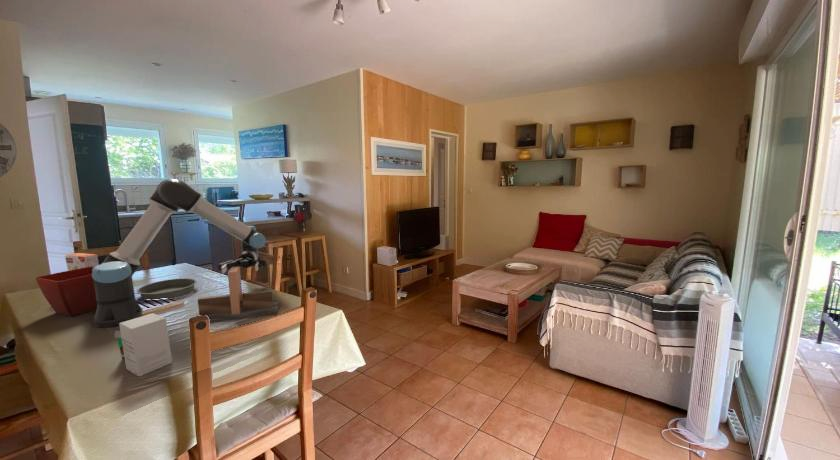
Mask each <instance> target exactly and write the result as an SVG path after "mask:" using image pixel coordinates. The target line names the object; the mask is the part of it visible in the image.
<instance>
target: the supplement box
mask: <svg viewBox="0 0 840 460" xmlns="http://www.w3.org/2000/svg"><path fill="white" fill-rule="evenodd" d="M118 326H119V331H120V332H121V338H122V344H123V350H124V357H125V359H124V362H125V363H124V364H125V369H126V370H128V371H129V372H131V373H132V374H134V375H135V376H137V377H142V376H144V375H146V374H148V373H151V372H154V371H157V370H158V369H161V368H163V367H166V366H168V365H170V364H172V363H173V359H172V350H171V344H170V337H169V332H168V331H169V330H168V323H167V318H166V317H163V316H161V315H158V314H156V313H154V312H153V313H149V314H146V315H143V316H142V317H138V318H135V319H132V320H128V321H125V322H121V323H119V325H118Z"/></svg>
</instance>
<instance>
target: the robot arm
mask: <svg viewBox="0 0 840 460" xmlns="http://www.w3.org/2000/svg"><path fill="white" fill-rule="evenodd" d="M149 202H150V205H148V207H147V208H146V210H145V211H144V213H143V214H142V216H141V217H140V218H139V220H138V221H137V222H136V224H135V225H134V226H133V228H132V229H131V231H130V232H129V233H128V235H127V236H126V238H125V239H123V240H124V241H123V242H122V243H121V244H120V245H119V247H118V248H117V250H115V251H112V252H109V254H108V255H107V256H106V257H105V259H104V260H103V261H102V262H101V263H99V265H97V266H95V267H94V268H93V270H92V278H93V281H94V287H95V294H96V300H97V309H95V313H94V317H93V325H94V327H95V328H109V327H110V328H111V327H112V328H113V327H117V326H119V323H121V322H125V321H128V320H132V319H135V318H138V317H142V316H144V314H142V313H143V309H142V308H141V306H140V304H139V303H138V301H137V300H136V295H135V290H134V289H135V288H134V282H133V276H134V275H135V273H136V271H137V270H138V268H139V267H140V265H141V263H140V259H141V257H142V256H143V254H144V253H145V251H146V250H147V248H148V247H149V245H151V243H152V242H153V240H154V239H155V237H157V234H158V233H159V232H160V230H161V229H162V228H163V226H164V225H165V223H166V221H167V220H168V218H170V216H171V215H172V214H176V213H178V211H180V210H182V211H185V212H186V213H191V212H192V213H193V214H194V215H196V216H198V217H200V218H202V219H203V220H204V221H205V220H206V221H207V222H209V223H210V224H212V225H214V226H215V227H218V228H219V229H221V230H223V231H224V232H225V233H228V234H229V235H230V236H232V237H235V238H236V239H238V240H240V244H241V254H240V255H239V256H238V257H237V259H235V260H233V259H229V260H227V261H224V262H221V263H218V265H217V266H218V270H219V271H221V274H222V275H223V274H225V273H226V272H227V271H228V269H229V270H230V269H231V268H232V267H240V268H241V267H242V268H244V269H248V268H251V267H255V272H258V270H259V269H260V268H264V267H267V261H266V260H264V259H262V258H261V257H259V255H260V252H259V250H258V249H262V248H263V247H264V246H265V245H266V242H267V240H266V239H267V238H266V236H265V235H263V234H262V233H261V232H258V231H257V226H255V225H246V224H245V223H244V222H242V221H241V220H239V219H238V218H236V217H234V216H233V215H231V214H229V213H227V212H226V211H224V210H223V209H221V208H219V207H217V206H216V205H214V204H213V203H211V202H209V201H208V200H206V199H205V198H203V195H202V194H201V193H199V192H198V191H196V190H195V189H194V188H192V187H191V186H190V185H188V183H186V182H185V181H183V180H181V179H176V178H168V179H165V180H162V181H161V182H160V183H159V184H158V185H157V186H156V189H155V191H154V192H153V193H152V195H151V196H150V198H149Z"/></svg>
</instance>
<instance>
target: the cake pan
mask: <svg viewBox="0 0 840 460" xmlns="http://www.w3.org/2000/svg"><path fill="white" fill-rule="evenodd" d="M197 281H198V280H196V279H194V278H188V277H187V278H184V277H183V278H182V277H181V278H170V279H164V280H159V281H155V282H151V283H148V284H145V285H143V286H140V287H138V288H137V289H136V293H137V294H140V296H141V298H142V299H145V300H144V301H147V300H146V299H160V298H172V299H176V298H177V299H178V298H180V297H184V296H187V295H189V294H191V293H192V292H194V290H195V285H196V284H197Z"/></svg>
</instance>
